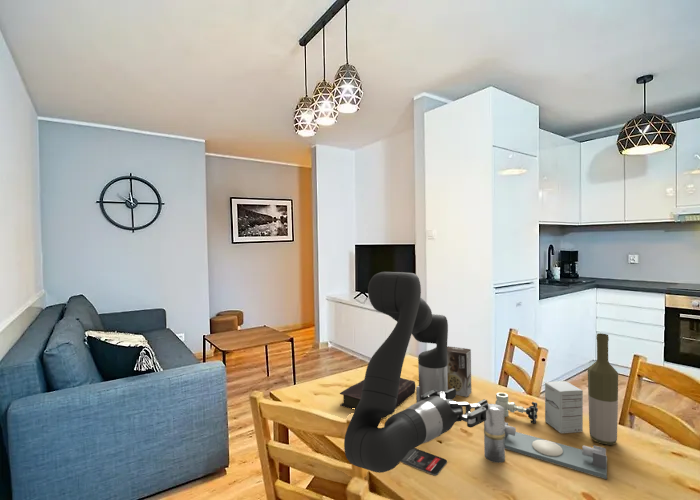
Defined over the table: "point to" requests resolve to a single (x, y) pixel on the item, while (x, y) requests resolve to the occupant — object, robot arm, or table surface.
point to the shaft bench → (558, 452)
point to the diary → (354, 392)
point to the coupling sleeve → (494, 434)
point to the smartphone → (424, 461)
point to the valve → (503, 401)
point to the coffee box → (459, 370)
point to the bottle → (603, 395)
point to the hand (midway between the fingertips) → (469, 398)
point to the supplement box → (564, 406)
